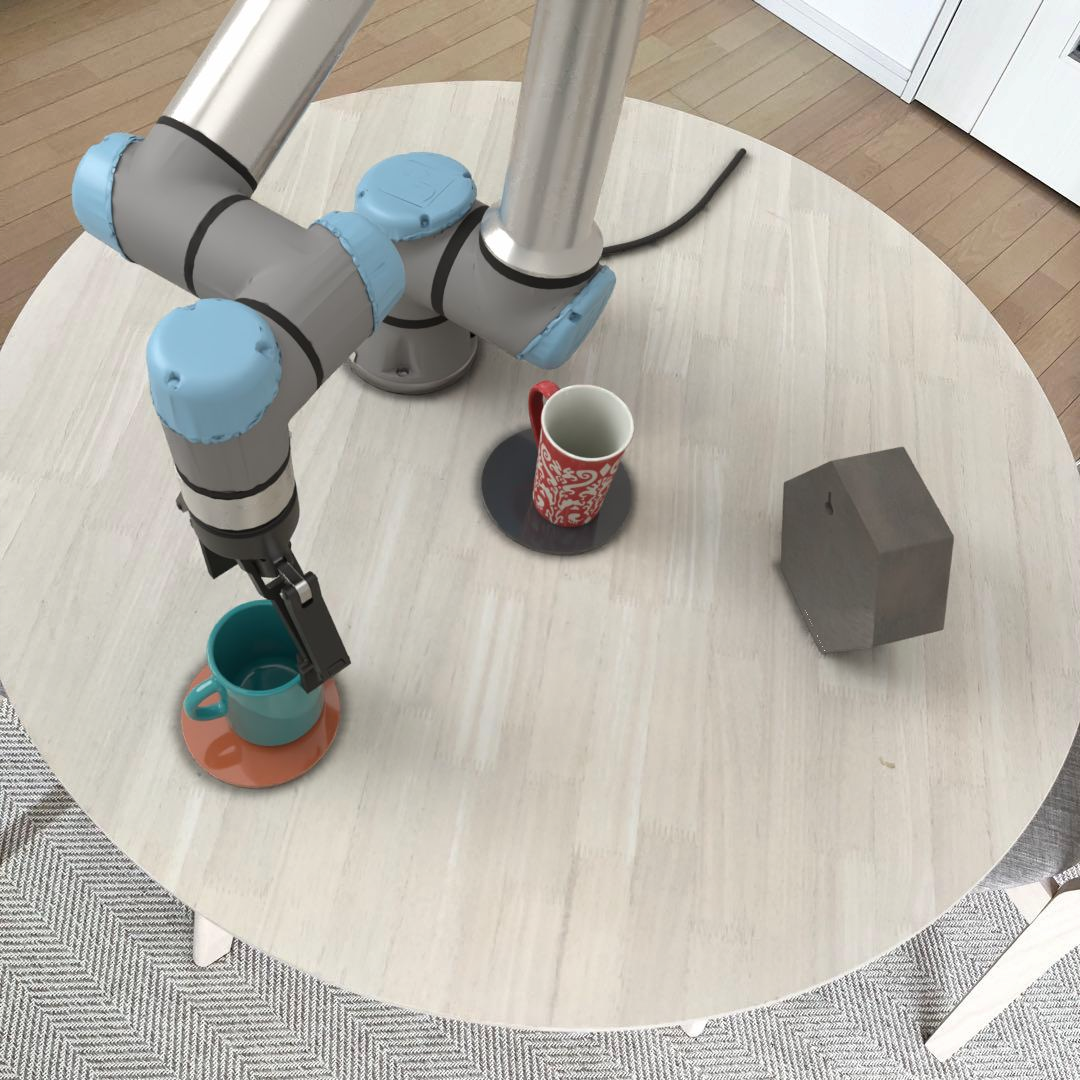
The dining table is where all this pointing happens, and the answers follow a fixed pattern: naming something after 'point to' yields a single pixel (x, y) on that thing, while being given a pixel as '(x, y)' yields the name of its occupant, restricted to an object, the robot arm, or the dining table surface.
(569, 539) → the coaster slate
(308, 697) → the cup
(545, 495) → the mug
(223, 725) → the coaster terracotta
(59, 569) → the dining table surface
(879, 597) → the dark grey boxy piece
